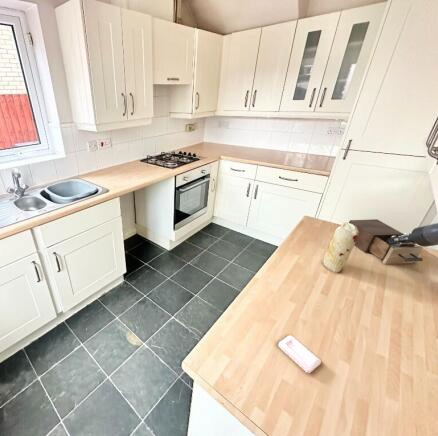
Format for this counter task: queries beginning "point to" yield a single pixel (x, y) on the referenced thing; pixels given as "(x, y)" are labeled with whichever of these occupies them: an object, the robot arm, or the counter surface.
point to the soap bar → (299, 354)
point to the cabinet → (371, 232)
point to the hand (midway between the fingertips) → (388, 243)
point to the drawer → (394, 251)
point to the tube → (394, 245)
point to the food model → (340, 246)
